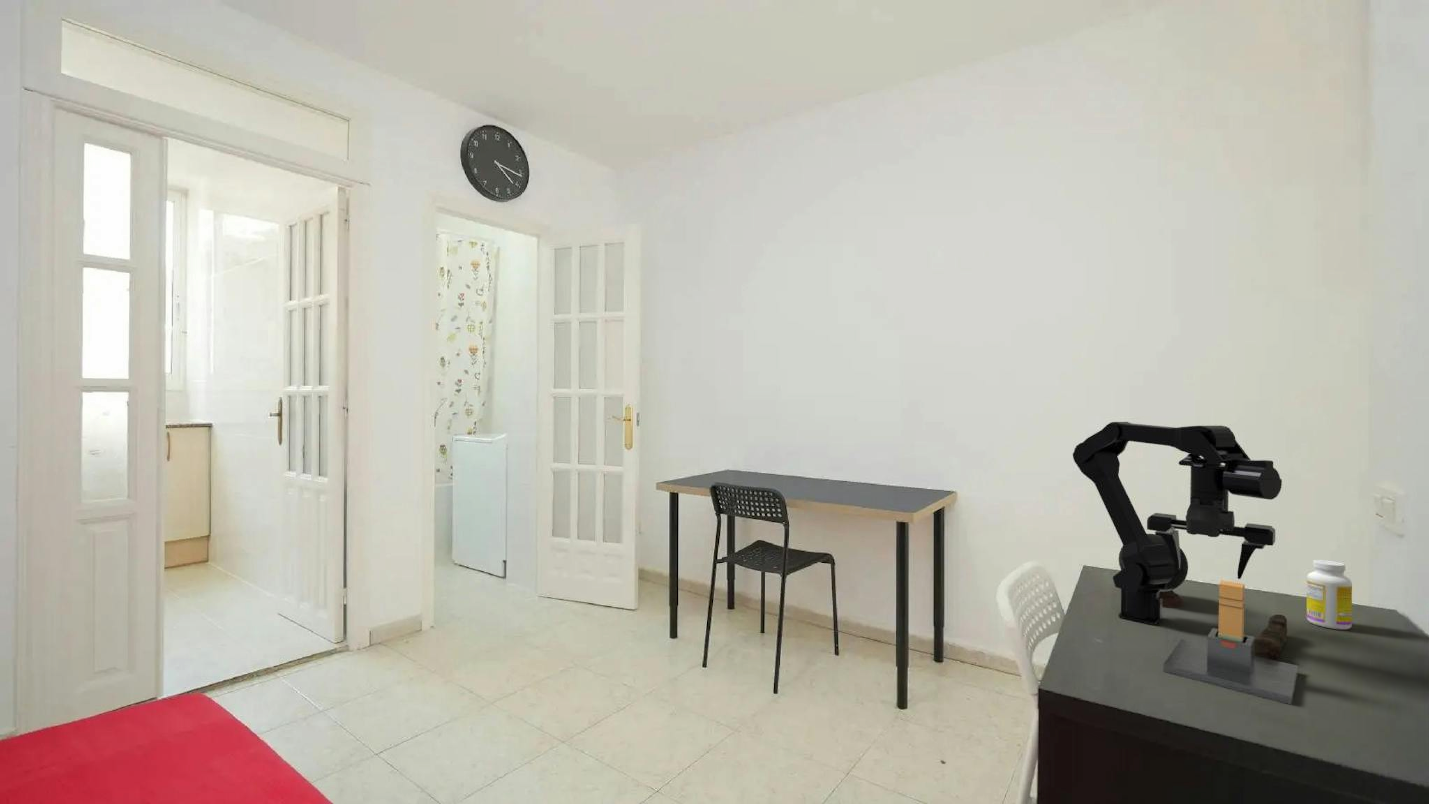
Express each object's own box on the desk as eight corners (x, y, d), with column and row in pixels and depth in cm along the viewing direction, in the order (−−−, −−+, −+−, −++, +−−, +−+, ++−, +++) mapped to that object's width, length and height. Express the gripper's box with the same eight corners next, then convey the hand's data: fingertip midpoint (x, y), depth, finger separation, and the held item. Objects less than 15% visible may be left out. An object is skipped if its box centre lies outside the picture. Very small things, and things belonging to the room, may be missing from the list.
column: (1218, 639, 107) (1218, 583, 106) (1220, 635, 109) (1221, 580, 109) (1241, 645, 104) (1242, 587, 104) (1244, 640, 106) (1244, 584, 106)
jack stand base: (1163, 671, 107) (1163, 635, 107) (1181, 645, 118) (1181, 613, 118) (1291, 704, 95) (1292, 665, 95) (1297, 672, 106) (1298, 637, 106)
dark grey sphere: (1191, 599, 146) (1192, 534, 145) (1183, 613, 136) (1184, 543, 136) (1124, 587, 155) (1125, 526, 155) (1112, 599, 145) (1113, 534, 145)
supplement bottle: (1350, 624, 130) (1351, 562, 130) (1352, 633, 125) (1353, 568, 125) (1306, 616, 134) (1307, 556, 134) (1306, 624, 130) (1307, 562, 129)
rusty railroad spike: (1278, 665, 110) (1279, 639, 110) (1249, 657, 113) (1250, 632, 113) (1300, 640, 122) (1301, 616, 122) (1273, 634, 125) (1273, 610, 125)
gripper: (1140, 490, 121) (1139, 571, 121) (1270, 502, 107) (1269, 593, 108) (1153, 484, 129) (1152, 561, 129) (1276, 495, 115) (1274, 580, 115)
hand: (1207, 573), depth 120 cm, fingers open, 9 cm apart
